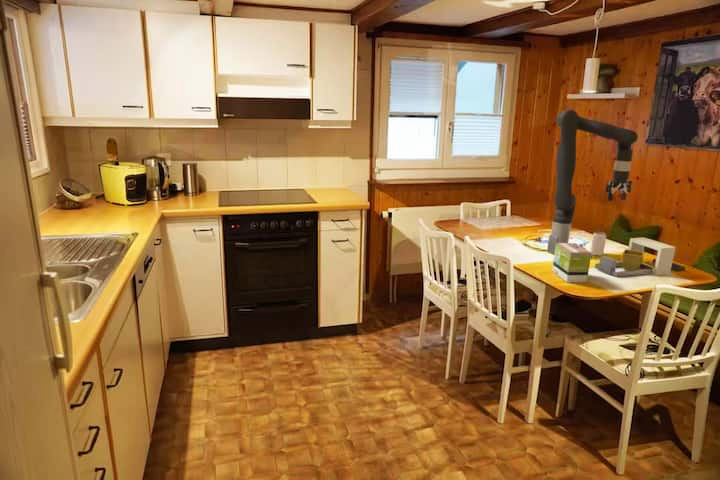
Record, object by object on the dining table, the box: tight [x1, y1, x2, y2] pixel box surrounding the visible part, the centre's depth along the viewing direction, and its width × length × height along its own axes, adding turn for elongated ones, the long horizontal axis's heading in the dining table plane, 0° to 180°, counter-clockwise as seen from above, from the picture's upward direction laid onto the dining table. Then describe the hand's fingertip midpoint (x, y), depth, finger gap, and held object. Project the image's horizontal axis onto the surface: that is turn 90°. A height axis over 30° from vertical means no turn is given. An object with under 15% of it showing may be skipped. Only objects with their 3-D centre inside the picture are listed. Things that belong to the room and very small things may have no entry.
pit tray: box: [652, 258, 686, 272], centre depth 248 cm, size 5×14×2 cm, turn 19°
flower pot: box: [621, 248, 645, 271], centre depth 240 cm, size 9×9×9 cm
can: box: [589, 231, 607, 257], centre depth 264 cm, size 6×6×12 cm
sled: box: [594, 255, 654, 278], centre depth 238 cm, size 23×14×7 cm, turn 109°
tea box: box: [551, 242, 592, 284], centre depth 226 cm, size 15×10×15 cm, turn 5°
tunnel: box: [627, 236, 676, 276], centre depth 242 cm, size 9×18×14 cm, turn 19°
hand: (616, 200), depth 256 cm, fingers open, 8 cm apart
